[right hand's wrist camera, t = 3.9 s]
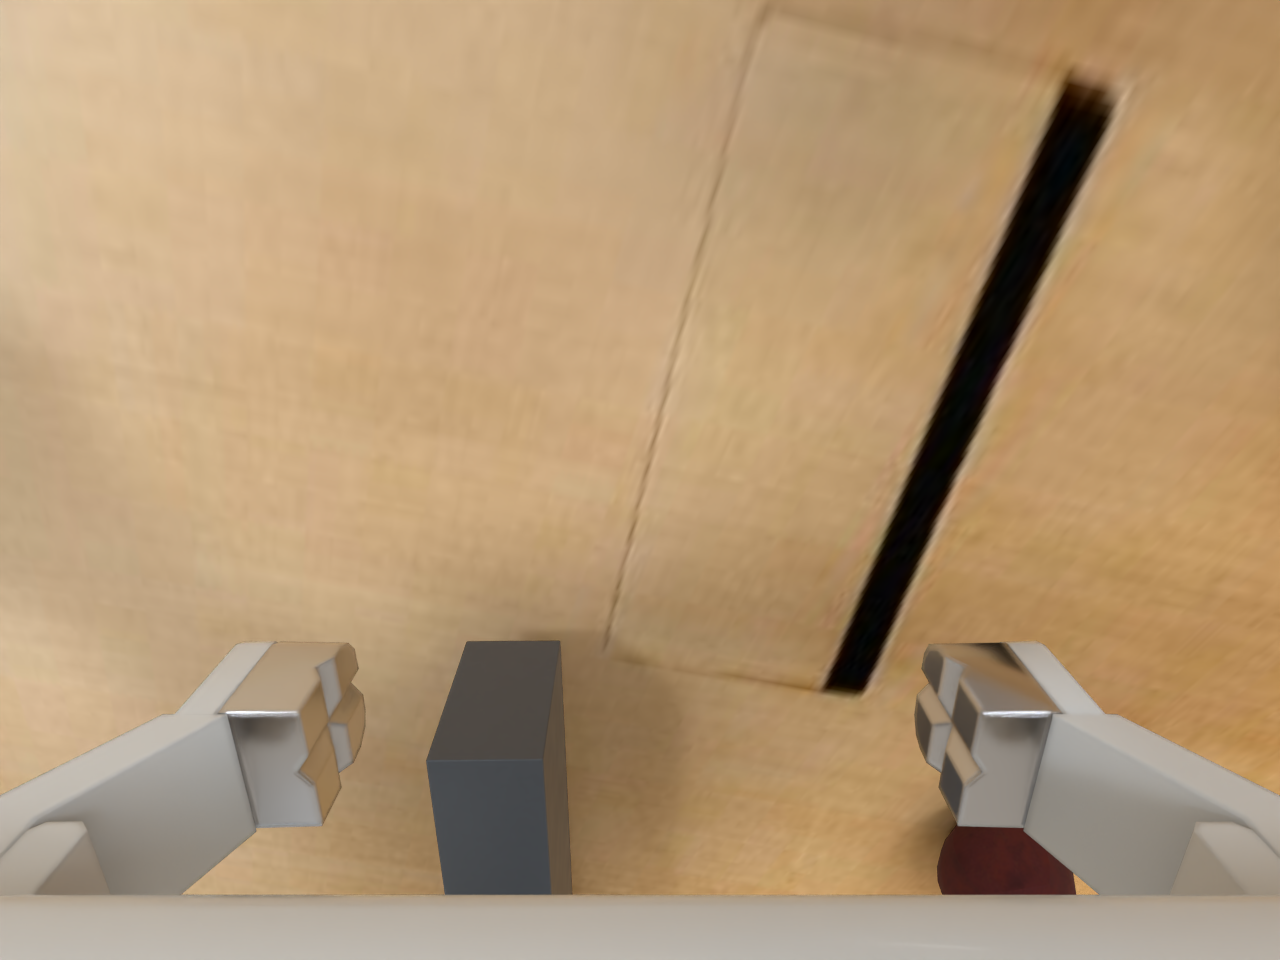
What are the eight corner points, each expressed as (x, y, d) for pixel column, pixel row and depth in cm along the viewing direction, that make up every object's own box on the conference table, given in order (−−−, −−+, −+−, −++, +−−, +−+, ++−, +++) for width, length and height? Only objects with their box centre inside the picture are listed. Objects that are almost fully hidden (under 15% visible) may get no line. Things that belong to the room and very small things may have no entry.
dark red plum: (928, 886, 48) (974, 996, 42) (911, 797, 46) (956, 901, 39) (1044, 862, 48) (1108, 971, 41) (1033, 771, 45) (1100, 872, 38)
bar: (466, 640, 37) (425, 760, 29) (560, 640, 37) (543, 759, 29) (502, 977, 46) (477, 1132, 39) (576, 976, 47) (566, 1130, 39)
